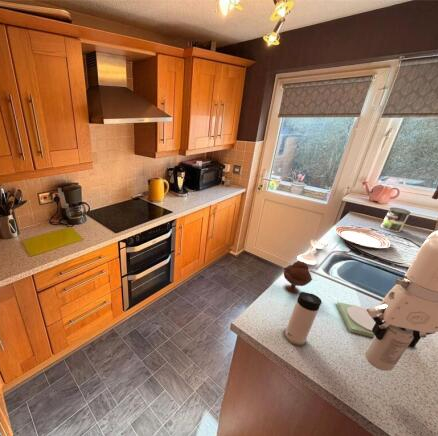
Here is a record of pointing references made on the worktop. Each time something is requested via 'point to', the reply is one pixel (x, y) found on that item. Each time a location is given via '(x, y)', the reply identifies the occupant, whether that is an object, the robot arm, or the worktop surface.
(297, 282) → the ice cream bowl
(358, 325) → the kitchen scale
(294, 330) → the travel mug
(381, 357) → the energy drink can
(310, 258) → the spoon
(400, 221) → the glass jar
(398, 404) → the worktop surface
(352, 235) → the dinner plate
